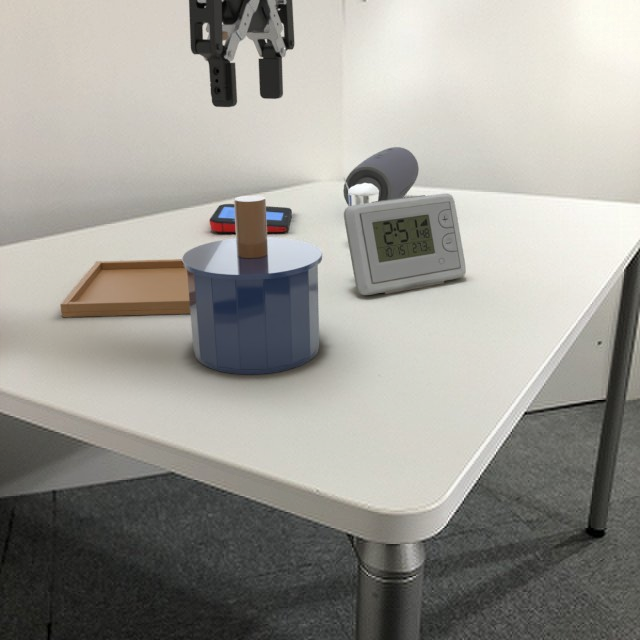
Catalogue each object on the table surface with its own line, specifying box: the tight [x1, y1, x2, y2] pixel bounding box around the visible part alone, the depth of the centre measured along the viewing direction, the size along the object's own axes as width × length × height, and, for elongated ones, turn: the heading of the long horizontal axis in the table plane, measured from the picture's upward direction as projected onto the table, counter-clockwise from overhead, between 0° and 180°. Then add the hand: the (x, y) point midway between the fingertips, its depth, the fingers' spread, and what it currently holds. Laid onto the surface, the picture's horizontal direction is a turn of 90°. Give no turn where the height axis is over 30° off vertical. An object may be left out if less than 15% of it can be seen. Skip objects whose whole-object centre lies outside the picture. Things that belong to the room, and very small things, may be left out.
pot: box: [187, 264, 320, 375], centre depth 78 cm, size 13×13×10 cm
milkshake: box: [342, 176, 379, 207], centre depth 116 cm, size 4×5×10 cm
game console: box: [209, 203, 293, 234], centre depth 130 cm, size 14×13×2 cm
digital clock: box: [343, 193, 467, 296], centre depth 97 cm, size 16×9×11 cm, turn 106°
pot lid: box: [181, 195, 323, 280], centre depth 75 cm, size 14×14×7 cm
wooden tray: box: [60, 258, 191, 318], centre depth 97 cm, size 18×18×2 cm
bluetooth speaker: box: [342, 146, 420, 207], centre depth 138 cm, size 23×9×10 cm, turn 162°
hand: (249, 102), depth 72 cm, fingers open, 8 cm apart
